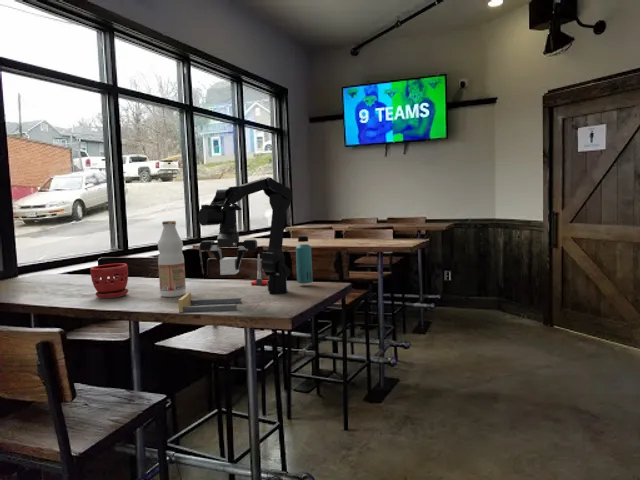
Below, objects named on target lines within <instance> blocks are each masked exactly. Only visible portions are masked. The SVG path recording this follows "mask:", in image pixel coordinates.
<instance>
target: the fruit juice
mask: <svg viewBox="0 0 640 480" xmlns="http://www.w3.org/2000/svg"><path fill="white" fill-rule="evenodd" d="M161 224H162V226H163V228H162V231H161V234H160V238H159V239H158V242H157V249H158V252H159V254H158V257H157V260H158V261H157V265H158V279H159V282H158V283H159V294H160V296H161V297H163V298H164V297H165V298H173V297H182V296H184V295H185V294H186V293H187V288H186V286H187V285H186V270H185V268H186V267H185V256H184V254H183V247H184V244H183V243H184V242H183V239H182V238H181V237H180V235H179V233H178V231H177V228H176V226H177V222H176V220H165V221H162V223H161Z"/></svg>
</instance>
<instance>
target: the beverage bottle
mask: <svg viewBox="0 0 640 480" xmlns="http://www.w3.org/2000/svg"><path fill="white" fill-rule="evenodd" d="M297 242H299V243H302V244H297V245H296V247H295V257H296V264H295V265H296V268H295V269H296V282H297V284H303V285H304V284H311V283H313V281H314V279H313V278H314V277H313V259H312V257H313V256H312V246H311V245H310V244H307V242H309V236H307V235H300V236H298V237H297ZM305 242H306V244H303V243H305Z"/></svg>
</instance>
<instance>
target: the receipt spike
mask: <svg viewBox="0 0 640 480" xmlns="http://www.w3.org/2000/svg"><path fill="white" fill-rule="evenodd" d="M260 256H261V254H260V253H258V254H257V272H256V273H257V274H256V275H257V278H256V279H255V280H253V281H251V283H250V285H251V286H268V280H269V279H263V278H262V271H261V269H262V267H261V257H260Z"/></svg>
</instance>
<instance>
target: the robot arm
mask: <svg viewBox="0 0 640 480" xmlns="http://www.w3.org/2000/svg"><path fill="white" fill-rule="evenodd" d="M262 191H263V193H264V195H265V196H267V197H268V199H269V204H270V207H271V211H272V214H271V220H270V222H271V223H270V231H269V242H268V248H267V250H266V251H263V252H262V254H261V260H260V264H261V269H262V270H263V271H264V274H265V276H266V277H269V279H267V280H268V284H267V291H268V292H269V294H270V295H273V294H287V293H288V282H287V278H288V277H290V276H291V273H292V270H291V268H290V267H288V265H287V264H286V257H285V254H284V251H283V242H284V241H283V240H284V230H285V222H286V212H287V210H288V209H289V207H290V205H291V204H292V199H293V192H292V191H291V189H290V188H289V187H288V186H286V185H285V184H283V183H281V182H278V181H276V180H275V179H273V178H272V177H270V176H269V177H266V176H265V177H261V178H259V179H256V180H253V181H249V182H247V183H243V184H240V185H236V186H235V185H233V186H226V187H225V186H222V187H219V188H217V189H216V192H215V195H214V197H213V199H212V200H211V202H210V204H201V205H200V207H201V208H200V209H199V210H198V214H197V221H198V224H200V225H201V226H202V227H203V226H219V231H218V232H219V233H218V235H217V238H216V241H217V242H215V240H202V241H201V242H200V243H199V250H200V251H209V253H212V254H213V255H214V257H215V259H216V261H217V263H218V266H219V267H220V259H222V258H223V254H222V248H228V249H229V248H238V249H237V250H236V251H237V256H236V257H237V270H239V271H240V266H241V263H242V260H243V257H244V254H245V252H248V251H249V250H255V249H257V248H258V241H257V239H244V240H243V241H240V234H239V232H238V223H237V222H238V221H237V211H242V208H241V207H240V206H239V205H238V204H237V203H238V202H240V201H242V199H243V198H245V197H246V196H250V195H252V194H256V193H258V192H262Z"/></svg>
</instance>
